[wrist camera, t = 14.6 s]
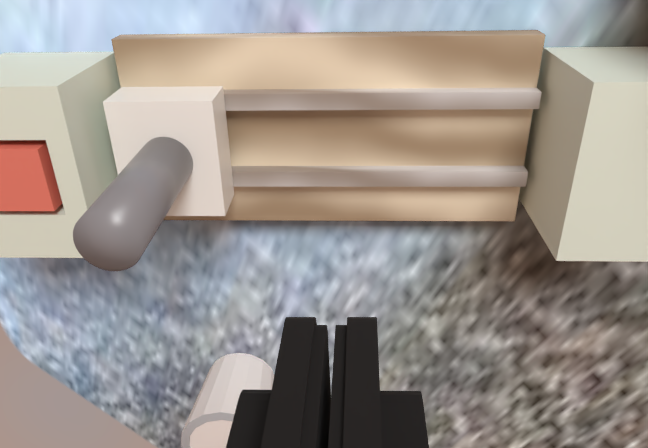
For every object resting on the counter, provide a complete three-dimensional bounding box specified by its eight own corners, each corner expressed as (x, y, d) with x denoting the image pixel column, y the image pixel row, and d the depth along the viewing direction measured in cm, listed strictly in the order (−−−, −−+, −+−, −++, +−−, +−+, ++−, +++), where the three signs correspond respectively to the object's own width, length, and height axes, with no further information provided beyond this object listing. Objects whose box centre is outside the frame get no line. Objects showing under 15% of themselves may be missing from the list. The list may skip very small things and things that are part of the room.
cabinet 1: (143, 197, 40) (99, 258, 33) (45, 197, 40) (-19, 257, 33) (115, 51, 35) (56, 86, 28) (5, 52, 35) (-81, 87, 28)
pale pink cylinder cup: (235, 333, 45) (217, 398, 39) (299, 378, 47) (292, 447, 41) (185, 378, 48) (161, 446, 42) (248, 419, 50) (234, 489, 44)
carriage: (234, 194, 36) (187, 308, 26) (142, 194, 37) (59, 307, 26) (223, 86, 33) (164, 166, 23) (122, 86, 33) (17, 166, 23)
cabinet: (623, 198, 38) (684, 261, 31) (518, 197, 39) (556, 261, 32) (663, 46, 33) (746, 81, 26) (543, 47, 34) (594, 82, 27)
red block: (85, 180, 35) (54, 211, 31) (27, 180, 35) (-10, 211, 31) (71, 123, 33) (37, 149, 29) (11, 123, 33) (-31, 149, 29)
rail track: (509, 210, 39) (518, 228, 37) (152, 209, 40) (141, 226, 38) (537, 30, 33) (550, 38, 31) (120, 34, 34) (104, 43, 32)
